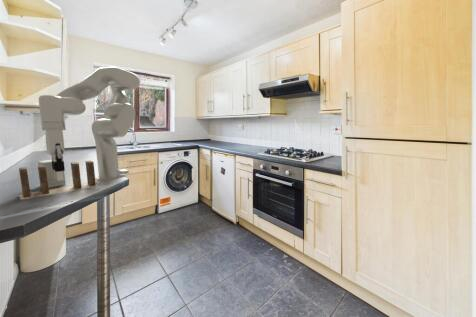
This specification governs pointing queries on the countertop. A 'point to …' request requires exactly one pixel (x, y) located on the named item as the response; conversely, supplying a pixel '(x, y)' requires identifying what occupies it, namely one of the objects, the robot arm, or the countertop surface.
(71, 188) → the board
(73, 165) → the domino
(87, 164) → the domino
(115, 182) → the countertop surface
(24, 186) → the domino end
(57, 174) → the domino
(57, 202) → the countertop surface
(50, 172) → the supplement box
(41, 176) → the domino
